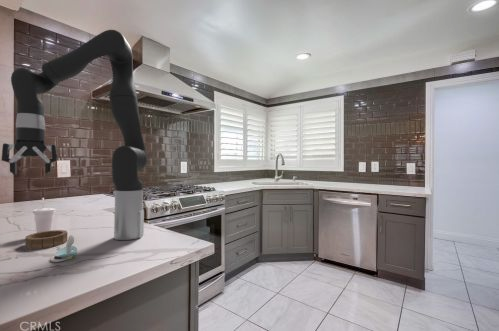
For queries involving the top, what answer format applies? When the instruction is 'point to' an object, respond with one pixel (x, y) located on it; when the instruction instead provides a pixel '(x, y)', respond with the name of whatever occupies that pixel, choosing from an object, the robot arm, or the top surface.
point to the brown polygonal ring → (45, 239)
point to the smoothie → (44, 218)
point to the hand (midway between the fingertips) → (31, 173)
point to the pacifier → (65, 251)
